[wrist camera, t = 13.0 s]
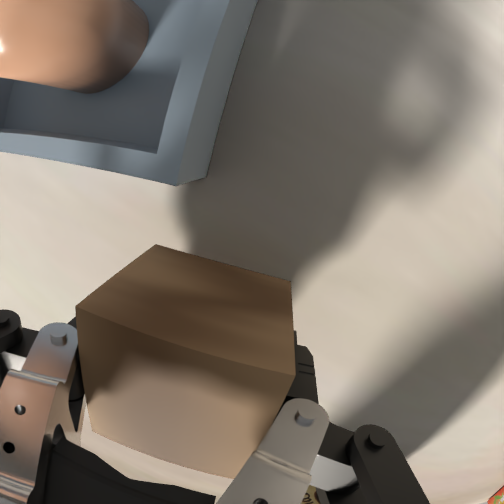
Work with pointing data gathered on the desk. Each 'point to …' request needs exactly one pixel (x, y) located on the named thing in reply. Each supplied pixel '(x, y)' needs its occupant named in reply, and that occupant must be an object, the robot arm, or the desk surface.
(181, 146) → the tote
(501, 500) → the cracker box
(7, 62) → the tan capsule
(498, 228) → the desk surface
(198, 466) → the walnut cube
